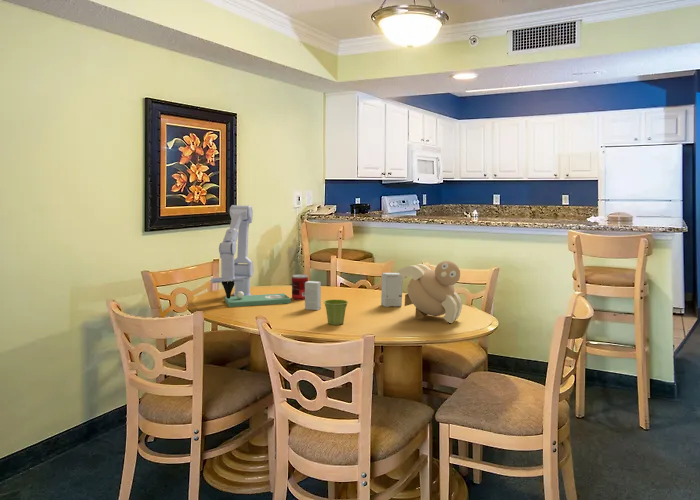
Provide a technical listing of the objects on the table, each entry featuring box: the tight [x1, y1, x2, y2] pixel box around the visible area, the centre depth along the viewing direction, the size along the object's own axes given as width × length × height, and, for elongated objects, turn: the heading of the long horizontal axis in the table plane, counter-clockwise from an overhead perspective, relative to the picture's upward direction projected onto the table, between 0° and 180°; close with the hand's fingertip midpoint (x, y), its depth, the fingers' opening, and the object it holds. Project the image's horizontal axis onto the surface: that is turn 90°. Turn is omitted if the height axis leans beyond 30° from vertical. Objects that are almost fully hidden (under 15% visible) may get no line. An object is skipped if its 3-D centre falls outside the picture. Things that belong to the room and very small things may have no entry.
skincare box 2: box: [380, 272, 404, 308], centre depth 250 cm, size 8×6×15 cm
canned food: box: [291, 273, 309, 301], centre depth 265 cm, size 8×8×11 cm
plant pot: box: [323, 299, 349, 326], centre depth 216 cm, size 9×9×9 cm
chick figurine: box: [397, 260, 463, 324], centre depth 224 cm, size 30×28×23 cm
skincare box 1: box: [304, 280, 322, 311], centre depth 241 cm, size 6×4×12 cm
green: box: [224, 292, 292, 308], centre depth 255 cm, size 14×28×2 cm, turn 110°
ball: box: [236, 291, 244, 299], centre depth 252 cm, size 4×4×4 cm
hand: (228, 298), depth 251 cm, fingers closed
